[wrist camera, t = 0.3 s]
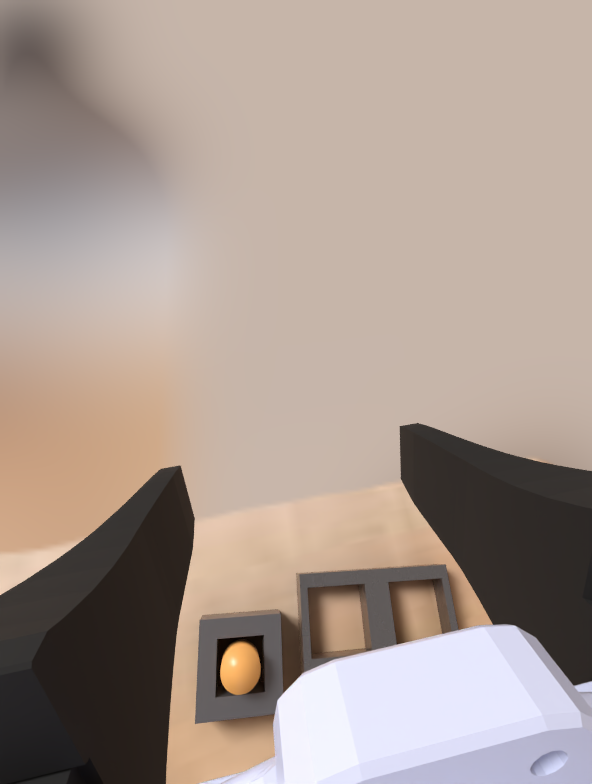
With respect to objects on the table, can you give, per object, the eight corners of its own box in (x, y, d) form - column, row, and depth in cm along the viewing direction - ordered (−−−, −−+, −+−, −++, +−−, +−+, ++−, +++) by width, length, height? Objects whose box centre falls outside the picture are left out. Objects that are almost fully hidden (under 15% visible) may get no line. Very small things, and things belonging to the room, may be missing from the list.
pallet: (476, 777, 32) (490, 790, 31) (307, 804, 30) (311, 820, 28) (436, 564, 39) (445, 564, 38) (296, 573, 37) (299, 574, 35)
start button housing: (280, 700, 33) (283, 713, 30) (198, 709, 32) (194, 723, 29) (277, 609, 36) (280, 613, 33) (202, 615, 35) (199, 620, 32)
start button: (259, 681, 32) (260, 692, 29) (221, 685, 31) (219, 697, 29) (258, 637, 33) (260, 644, 31) (222, 640, 33) (220, 648, 30)
